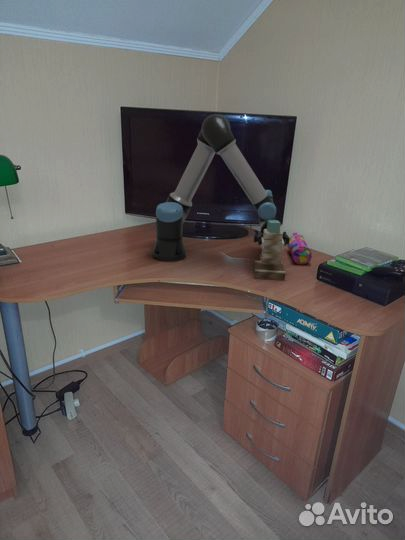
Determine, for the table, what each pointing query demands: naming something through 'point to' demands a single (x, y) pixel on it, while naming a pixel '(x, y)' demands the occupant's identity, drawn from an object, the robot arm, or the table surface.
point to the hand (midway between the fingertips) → (273, 246)
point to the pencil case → (299, 249)
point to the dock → (269, 270)
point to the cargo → (273, 226)
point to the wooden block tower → (271, 247)
